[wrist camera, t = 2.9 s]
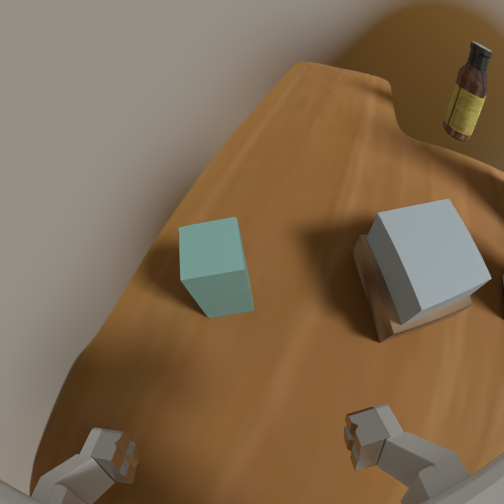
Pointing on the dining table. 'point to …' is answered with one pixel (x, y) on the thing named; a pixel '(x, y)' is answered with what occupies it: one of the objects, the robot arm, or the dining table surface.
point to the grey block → (426, 258)
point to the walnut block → (382, 300)
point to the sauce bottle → (468, 94)
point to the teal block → (215, 267)
